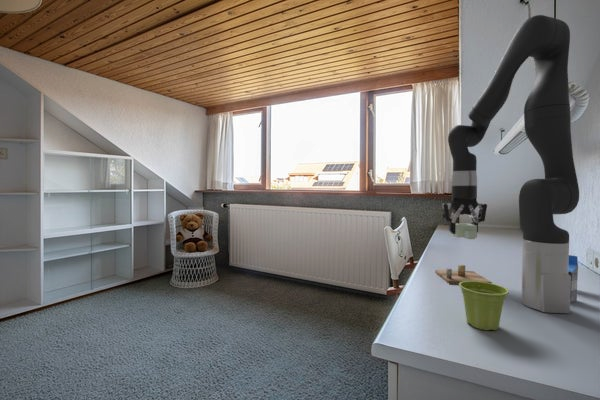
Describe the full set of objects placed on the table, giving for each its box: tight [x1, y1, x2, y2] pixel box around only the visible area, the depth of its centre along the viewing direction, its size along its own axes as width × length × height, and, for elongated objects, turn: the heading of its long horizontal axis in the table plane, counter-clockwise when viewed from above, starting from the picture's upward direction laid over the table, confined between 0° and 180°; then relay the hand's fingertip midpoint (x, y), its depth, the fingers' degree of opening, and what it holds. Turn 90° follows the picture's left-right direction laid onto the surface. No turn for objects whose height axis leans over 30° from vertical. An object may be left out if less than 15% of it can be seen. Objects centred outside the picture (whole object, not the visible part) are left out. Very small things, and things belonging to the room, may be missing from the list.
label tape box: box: [568, 254, 579, 303], centre depth 83 cm, size 9×4×12 cm, turn 27°
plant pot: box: [458, 281, 509, 331], centre depth 66 cm, size 9×9×9 cm
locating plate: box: [435, 264, 493, 285], centre depth 101 cm, size 13×13×4 cm
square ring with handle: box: [450, 223, 478, 240], centre depth 99 cm, size 10×6×4 cm, turn 172°
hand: (463, 233), depth 100 cm, fingers closed on square ring with handle, 6 cm apart
